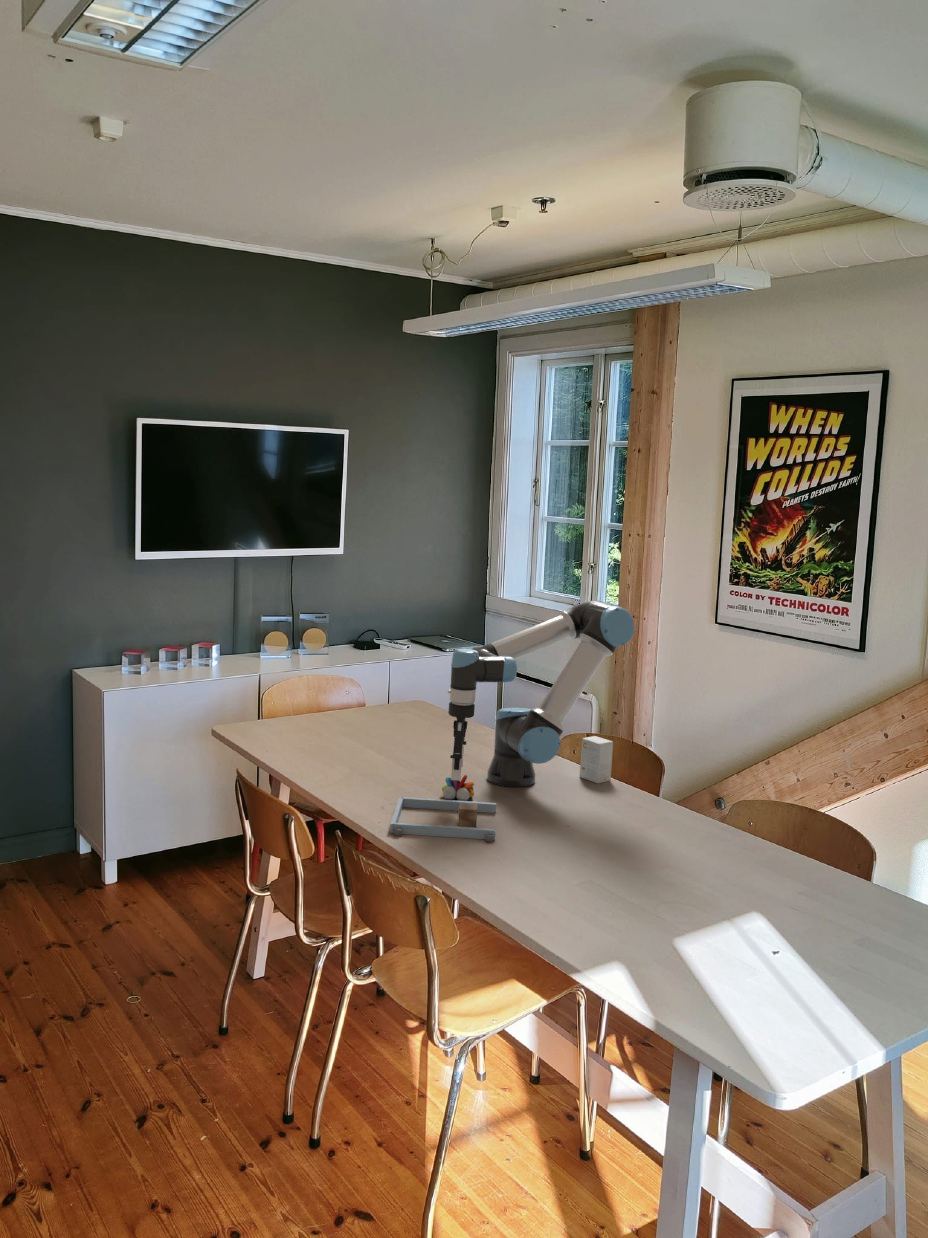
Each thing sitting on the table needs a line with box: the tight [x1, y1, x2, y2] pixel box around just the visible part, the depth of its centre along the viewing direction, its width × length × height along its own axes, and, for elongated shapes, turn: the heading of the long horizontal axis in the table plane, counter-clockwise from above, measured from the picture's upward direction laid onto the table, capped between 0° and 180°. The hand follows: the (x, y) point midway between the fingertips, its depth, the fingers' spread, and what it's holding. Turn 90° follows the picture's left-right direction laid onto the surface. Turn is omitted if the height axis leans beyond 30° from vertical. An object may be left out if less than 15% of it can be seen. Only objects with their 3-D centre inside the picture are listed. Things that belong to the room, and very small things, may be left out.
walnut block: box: [457, 803, 478, 828], centre depth 277 cm, size 5×5×5 cm
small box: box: [579, 735, 614, 784], centre depth 323 cm, size 8×6×13 cm
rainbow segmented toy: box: [441, 774, 475, 801], centre depth 298 cm, size 8×10×7 cm
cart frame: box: [389, 796, 497, 844], centre depth 277 cm, size 28×27×2 cm
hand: (456, 773), depth 296 cm, fingers open, 13 cm apart
